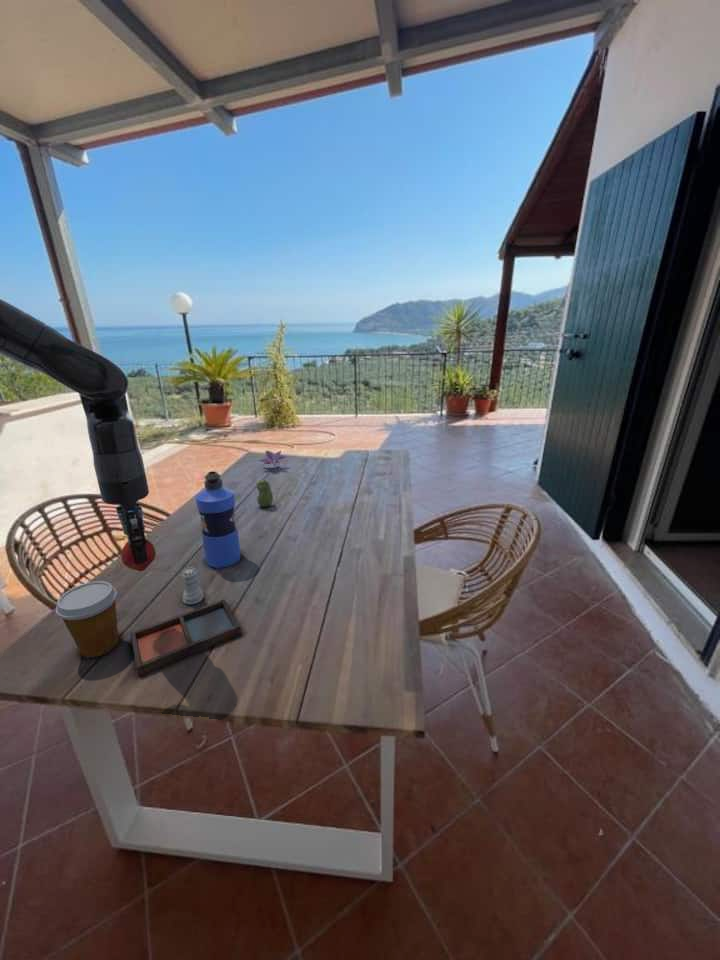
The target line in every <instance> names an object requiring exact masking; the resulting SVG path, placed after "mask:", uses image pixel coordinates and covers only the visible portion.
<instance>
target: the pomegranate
mask: <svg viewBox="0 0 720 960" xmlns="http://www.w3.org/2000/svg"><path fill="white" fill-rule="evenodd" d="M140 538H141V537H139V536H137V537H134V538H133V540H136V539H140ZM145 540H146V541H147V543H146V545H145V548H146V553H147V558H148V560H147V561H146V562H144V563H140V564H135V563H134V559H133V554H132V550H131V547H130V546H129V541H128V540H127V541H126V543H125V544H124V546H123V547H122V549H121V551H120V557H121V561H122V563H123V565H124V566H126V567H127V568H129V569H130V570H134V571H137V572H144V571H145V570H146V569H147V568H148V567H149V566H150V565H151V564H152V563H153V561H154V560H155V558H156V556H157V555H156V549H155V546H154V544H153V543H152V542H151V541H150V540H148V539H146V538H145Z"/></svg>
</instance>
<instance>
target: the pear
mask: <svg viewBox="0 0 720 960" xmlns="http://www.w3.org/2000/svg"><path fill="white" fill-rule="evenodd" d="M256 489H257V490H258V495H257V498H256V501H257V504H258V505H259V506H260V507H263V508H267V507H269V506H271V505H272V503H273V502H274V501H273V500H274V494H273V491H272V490H271V484H270V483H269V481H268V479H262V480H259V481H258V482H257V484H256Z"/></svg>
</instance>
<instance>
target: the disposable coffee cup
mask: <svg viewBox="0 0 720 960" xmlns="http://www.w3.org/2000/svg"><path fill="white" fill-rule="evenodd" d="M117 595H118V592H117V589H116V587H114V586H113V585H112V583H110V582H108V581H104V580H103V581H102V580H97V581H89V582H85V583H82V584H79V585H76V586H75V587H72V588H70V589H68V590H66V591H65V592H64V593H63V594H62V595H60V596H59V598H58V599H57V602H56V606H55V612H56V615H57V616H58V617H59V618H61V619H62V621H63V623H64V624H65V626H66V628H67V630H68V631H69V634H70V636H71V638H72V639H73V641H74V643H75V645H76V647H77V649H78V650H79V653H80V654H81V655H82V656H83V657H84V658H97V657H100V656H102V655H105V654H106V653H109V652H110V651H112V650H113V649H115V647H116V646H117V645H118V643H119V629H118V617H117V604H116V598H117Z"/></svg>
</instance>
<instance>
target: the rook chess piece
mask: <svg viewBox="0 0 720 960" xmlns="http://www.w3.org/2000/svg"><path fill="white" fill-rule="evenodd" d="M197 574H198V571H197V570H196V568H195V567H193V566H191V567H189V566H188V567H186V568H183V570H182V573H181V577H182V578H183V582H184V591H183V594H182V598H183V599H182V601H183V603H184V604H186V605H189V606H192V605H193V606H194V605H197V604H198V603H200V602H202V600H203V599H204V596H205V595H204V592H203V589H202V588H201V587H200V586H199V584H198V581H197V580H198V577H197V576H196V575H197Z"/></svg>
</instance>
